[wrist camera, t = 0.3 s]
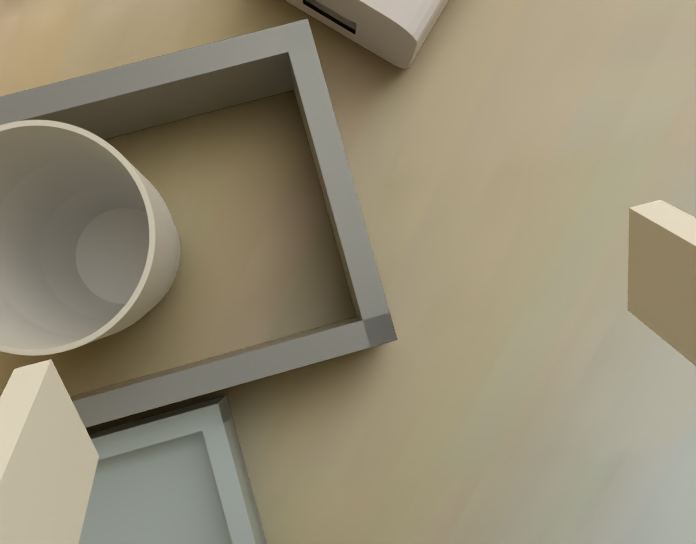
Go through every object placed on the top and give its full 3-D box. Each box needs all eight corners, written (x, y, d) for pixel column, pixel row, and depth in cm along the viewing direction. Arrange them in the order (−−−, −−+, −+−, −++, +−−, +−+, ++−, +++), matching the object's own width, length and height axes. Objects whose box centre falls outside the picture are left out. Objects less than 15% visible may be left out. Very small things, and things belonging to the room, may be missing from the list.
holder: (386, 333, 32) (397, 339, 27) (-7, 443, 31) (-70, 471, 26) (310, 61, 32) (307, 18, 27) (-79, 162, 32) (-155, 136, 27)
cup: (117, 143, 32) (24, 72, 22) (241, 246, 32) (203, 222, 22) (9, 266, 31) (-137, 251, 21) (135, 371, 31) (47, 404, 22)
